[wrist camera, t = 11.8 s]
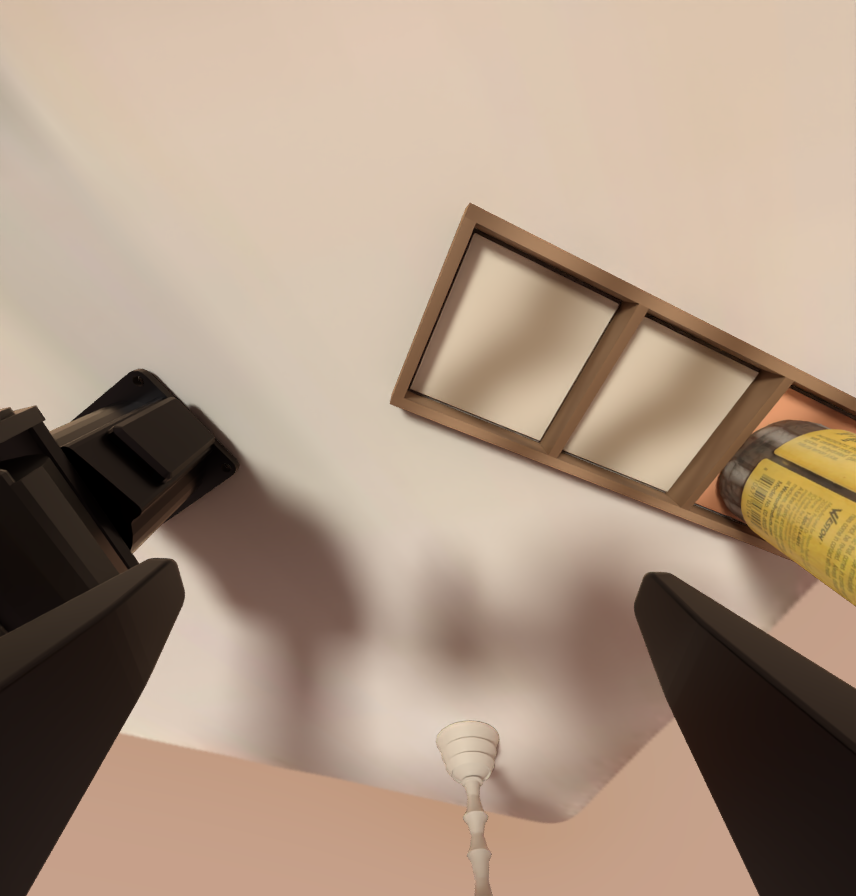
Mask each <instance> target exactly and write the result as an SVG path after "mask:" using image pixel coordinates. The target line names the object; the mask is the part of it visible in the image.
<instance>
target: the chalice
mask: <svg viewBox="0 0 856 896" xmlns="http://www.w3.org/2000/svg"><path fill="white" fill-rule="evenodd" d="M498 742H499V735H498V733H497V731H496V730H495V729H494V728H493V727H491V726H490V725H488V724H485V723H482V722H478V721H463V722H457V723H454V724H451V725H449V726H447V727H446V728H444V729H443V730H442V731H441V732H440V733H439V734H438V735H437V739H436V744H437V748H438V749H439V751H440V752H441V756H442V760H443V762H444V763H445V765H446V770H447V772H448V773H449V775H450V776H451V777H452V778H453V779H454V781H456V782H458V783H461V784H462V786H463V787H465V789H466V793H467V797H468V800H467V811H466V813H465V814H464V816H463V820H464V821H465V822H466V824H467V825H468V827H469V830H470V833H471V843H470V849H469V851H468V854H467V857H468V858H469V860H470V862H471V864H472V868H473V873H474V877H475V896H492V892H491V888H490V884H489V860H490V858H491V855H492V854H491V852H490V850H489V849H488V847H487V845H486V841H485V838H484V825H485V823H486V821H487V820H488V815H487V814H486V813H485V812H484V811H483V809H482V805H481V802H480V798H479V793H480V786H481V785H482V783H483V781H485V780H487V779H488V778H489V777H490V775H491V773H492V771H493V769H494V766H495V764H494V760H495V757H496V754H497V752H496V748H497V745H498Z"/></svg>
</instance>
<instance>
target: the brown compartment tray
mask: <svg viewBox="0 0 856 896" xmlns="http://www.w3.org/2000/svg"><path fill="white" fill-rule="evenodd" d="M474 228H476V229H478V230H480V231H482V232H484V233H486V234H488V235H490V236H492V237H494V238H496V239H498V240H500V241H502V242H504V243H506V244H508V245H510V246H512V247H514V248H516V249H518V250H520V251H522V252H524V253H526V254H528V255H530V256H533V257H535V258H537V259H539V260H541V261H543V262H545V263H547V264H549V265H551V266H553V267H555V268H557V269H559V270H561V271H563V272H565V273H567V274H569V275H571V276H573V277H575V278H577V279H579V280H581V281H583V282H585V283H587V284H589V285H591V286H593V287H595V288H597V289H599V290H601V291H603V292H605V293H607V294H609V295H611V296H613V297H615V298H617V299H619V300H621V301H622V303H621V305H620V306H619V304H618V303H616V302H614V301H612V300H610V299H608V298H606V297H604V296H602V295H600V294H598V293H596V292H594V291H592V290H590V289H588V288H586V287H584V286H582V285H580V284H578V283H575V282H573V281H571V280H569V279H567V278H565V277H563V276H561V275H559V274H557V273H555V272H553V271H551V270H549V269H547V268H545V267H543V266H541V265H539V264H537V263H535V262H533V261H531V260H529V259H527V258H525V257H523V256H521V255H519V254H517V253H515V252H513V251H511V250H508V249H506V248H504V247H502V246H500V245H498V244H496V243H494V242H492V241H490V240H488V239H486V238H484V237H482V236H480V235H478V234H476V233H474V234H473V236H472V239H471V241H470V244H469V246H468V248H467V251H466V253H465V256H464V258H463V261H462V263H461V265H460V268H459V270H458V273H457V275H456V277H455V280H454V282H453V285H452V287H451V290H450V292H449V294H448V297H447V299H446V302H445V304H444V306H443V309H442V311H441V314H440V316H439V319H438V321H437V323H436V326H435V328H434V331H433V333H432V335H431V338H430V340H429V343H428V345H427V348H426V350H425V352H424V355H423V357H422V360H421V362H420V364H419V367H418V369H417V372H416V374H415V377H414V379H413V381H412V384H411V386H410V389H412V390H415V391H417V392H420V393H422V394H425V395H427V396H430V397H432V398H435V399H437V400H440V401H442V402H445V403H447V404H450V405H452V406H455V407H457V408H460V409H462V410H465V411H467V412H470V413H472V414H475V415H477V416H480V417H482V418H485V419H487V420H490V421H492V422H495V423H497V424H500V425H502V426H505V427H507V428H510V429H512V430H514V431H517V432H519V433H522V434H524V435H527V436H529V437H532V438H534V439H537V440H539V441H540V439H541V438H542V436H543V434H544V433H545V431H546V429H547V427H548V426H549V424H550V422H551V421H552V419H553V417H554V415H555V414H556V412H557V410H558V409H559V407H560V405H561V403H562V402H563V400H564V398H565V397H566V395H567V393H568V391H569V390H570V388H571V386H572V385H573V383H574V381H575V379H576V378H577V376H578V374H579V373H580V371H581V369H582V367H583V366H584V364H585V362H586V361H587V359H588V357H589V355H590V354H591V352H592V350H593V349H594V347H595V345H596V343H597V342H598V340H599V338H600V337H601V335H602V333H603V331H604V330H605V328H606V326H607V325H608V323H609V321H610V319H611V318H612V316H613V314H614V313H615V311H616V309H617V307H618V306H619V308H618V310H617V311H616V313H615V315H614V317H613V318H612V320H611V322H610V323H609V325H608V327H607V329H606V330H605V332H604V334H603V335H602V337H601V339H600V341H599V342H598V344H597V346H596V347H595V349H594V351H593V353H592V354H591V356H590V358H589V359H588V361H587V363H586V364H585V366H584V368H583V370H582V371H581V373H580V375H579V376H578V378H577V380H576V382H575V383H574V385H573V387H572V388H571V390H570V392H569V394H568V395H567V397H566V399H565V400H564V402H563V404H562V406H561V407H560V409H559V411H558V412H557V414H556V416H555V417H554V419H553V421H552V423H551V424H550V426H549V428H548V429H547V431H546V433H545V435H544V436H543V438H542V440H541V441H540V443H539V442H536V441H534V440H531V439H529V438H526V437H524V436H521V435H519V434H516V433H514V432H511V431H509V430H506V429H504V428H501V427H499V426H496V425H494V424H491V423H489V422H486V421H484V420H481V419H479V418H476V417H474V416H471V415H469V414H466V413H464V412H461V411H459V410H456V409H454V408H451V407H449V406H446V405H444V404H441V403H439V402H436V401H434V400H431V399H429V398H426V397H424V396H421V395H419V394H416V393H414V392H411V391H409V390H407V389H408V387H409V385H410V382H411V380H412V377H413V375H414V372H415V370H416V368H417V365H418V363H419V360H420V358H421V355H422V353H423V351H424V348H425V346H426V343H427V341H428V338H429V336H430V334H431V331H432V329H433V326H434V324H435V321H436V319H437V317H438V314H439V312H440V309H441V307H442V304H443V302H444V300H445V297H446V295H447V292H448V290H449V287H450V285H451V283H452V280H453V278H454V275H455V273H456V270H457V268H458V266H459V263H460V261H461V258H462V256H463V253H464V251H465V249H466V246H467V244H468V241H469V239H470V236H471V234H472V232H473V229H474ZM646 313H648V314H650V315H652V316H654V317H656V318H658V319H660V320H662V321H664V322H666V323H668V324H670V325H672V326H674V327H676V328H678V329H680V330H682V331H684V332H686V333H688V334H690V335H692V336H694V337H696V338H698V339H700V340H702V341H704V342H706V343H708V344H710V345H712V346H714V347H716V348H718V349H720V350H722V351H724V352H726V353H728V354H730V355H732V356H734V357H737V358H739V359H741V360H743V361H745V362H747V363H749V364H751V365H753V366H755V367H757V368H759V369H760V370H759V372H756V371H754V370H752V369H750V368H748V367H746V366H744V365H742V364H740V363H738V362H736V361H734V360H732V359H730V358H728V357H726V356H724V355H722V354H720V353H718V352H716V351H714V350H711V349H709V348H707V347H705V346H703V345H701V344H699V343H697V342H695V341H693V340H691V339H689V338H687V337H685V336H683V335H681V334H679V333H677V332H675V331H673V330H671V329H669V328H667V327H665V326H663V325H661V324H659V323H657V322H655V321H653V320H651V319H649V318H647V317H644V316H645V315H646ZM791 385H793V386H795V387H797V388H799V389H801V390H803V391H805V392H807V393H809V394H811V395H813V396H815V397H817V398H819V399H821V400H823V401H825V402H827V403H829V404H831V405H833V406H835V407H837V408H840V409H842V410H844V411H846V412H848V413H850V414H852V415H854V416H856V398H855V397H853V396H851V395H849V394H847V393H845V392H843V391H841V390H839V389H837V388H835V387H833V386H831V385H829V384H827V383H825V382H823V381H821V380H819V379H817V378H815V377H813V376H811V375H809V374H807V373H805V372H803V371H801V370H799V369H797V368H795V367H793V366H791V365H789V364H787V363H785V362H784V361H782V360H780V359H778V358H776V357H774V356H772V355H770V354H768V353H766V352H764V351H762V350H760V349H758V348H756V347H754V346H752V345H750V344H748V343H746V342H744V341H742V340H740V339H738V338H736V337H734V336H732V335H730V334H728V333H726V332H724V331H722V330H720V329H718V328H716V327H714V326H712V325H710V324H709V323H707V322H705V321H703V320H701V319H699V318H697V317H695V316H693V315H691V314H689V313H687V312H685V311H683V310H681V309H679V308H677V307H675V306H673V305H671V304H669V303H667V302H665V301H663V300H661V299H659V298H657V297H655V296H653V295H651V294H649V293H647V292H645V291H643V290H641V289H639V288H637V287H635V286H633V285H632V284H630V283H628V282H626V281H624V280H622V279H620V278H618V277H616V276H614V275H612V274H610V273H608V272H606V271H604V270H602V269H600V268H598V267H596V266H594V265H592V264H590V263H588V262H586V261H584V260H582V259H580V258H578V257H576V256H574V255H572V254H570V253H568V252H566V251H564V250H562V249H560V248H558V247H557V246H555V245H553V244H551V243H549V242H547V241H545V240H543V239H541V238H539V237H537V236H535V235H533V234H531V233H529V232H527V231H525V230H523V229H521V228H519V227H517V226H515V225H513V224H511V223H509V222H507V221H505V220H503V219H501V218H499V217H497V216H495V215H493V214H491V213H489V212H487V211H485V210H483V209H481V208H480V207H478V206H476V205H474V204H472V203H469V205H468V206H467V207H466V209H465V211H464V214H463V216H462V219H461V221H460V224H459V226H458V229H457V231H456V234H455V236H454V239H453V241H452V244H451V247H450V249H449V252H448V254H447V257H446V259H445V262H444V264H443V267H442V269H441V272H440V274H439V277H438V279H437V282H436V284H435V287H434V289H433V292H432V294H431V297H430V299H429V302H428V304H427V307H426V309H425V312H424V314H423V317H422V319H421V322H420V325H419V327H418V330H417V332H416V335H415V337H414V340H413V342H412V345H411V347H410V350H409V352H408V355H407V357H406V360H405V362H404V365H403V367H402V370H401V372H400V375H399V377H398V380H397V382H396V385H395V387H394V390H393V392H392V396H391V400H390V404H391V405H394V406H396V407H399V408H401V409H404V410H407V411H409V412H412V413H414V414H417V415H419V416H422V417H425V418H427V419H430V420H432V421H435V422H437V423H440V424H443V425H445V426H448V427H450V428H453V429H455V430H458V431H460V432H463V433H466V434H468V435H471V436H473V437H476V438H478V439H481V440H484V441H486V442H489V443H491V444H494V445H496V446H499V447H502V448H504V449H507V450H509V451H512V452H514V453H517V454H519V455H522V456H525V457H527V458H530V459H532V460H535V461H537V462H540V463H543V464H545V465H548V466H550V467H553V468H555V469H558V470H561V471H563V472H566V473H568V474H571V475H573V476H576V477H578V478H581V479H584V480H586V481H589V482H591V483H594V484H596V485H599V486H602V487H604V488H607V489H609V490H612V491H614V492H617V493H620V494H622V495H625V496H627V497H630V498H632V499H635V500H637V501H640V502H643V503H645V504H648V505H650V506H653V507H655V508H658V509H661V510H663V511H666V512H668V513H671V514H673V515H676V516H679V517H681V518H684V519H686V520H689V521H691V522H694V523H696V524H699V525H702V526H704V527H707V528H709V529H712V530H714V531H717V532H720V533H722V534H725V535H727V536H730V537H732V538H735V539H738V540H740V541H743V542H745V543H748V544H750V545H753V546H755V547H758V548H761V549H763V550H766V551H768V552H771V553H773V554H776V555H779V556H781V557H784V558H786V559H789V560H791V561H793V560H792V559H790V558H789V557H788V556H786V555H785V554H783V553H782V552H781V551H779V550H778V549H777V548H775V547H774V546H772V545H771V544H770V543H768V542H767V541H766V540H764V539H763V538H762V537H760V536H759V535H758V534H756V533H755V532H754V531H753V530H752V529H750V527H749V526H746V525H744V524H741V523H739V522H736V521H734V520H731V519H729V518H726V517H724V516H721V515H719V514H716V513H714V512H711V511H709V510H706V509H704V508H701V507H699V506H696V505H694V504H695V503H696V504H699V505H701V506H704V507H706V508H709V509H711V510H714V511H716V512H719V513H721V514H724V515H726V516H729V517H731V518H734V519H736V520H739V521H741V522H744V521H742V520H741V519H739V518H738V517H736V516H735V515H734V514H733V513H732V512H731V511H730V510H729V509H728V508H727V506H726V504H725V502H724V500H723V498H722V497H721V495H720V490H719V480H720V475H721V473H722V470H723V468H724V467H725V466H726V464H727V463H728V462H729V461H730V460H731V458H732V457H733V456H734V455H735V453H736V452H737V451H738V450H739V449H740V447H741V446H742V445H743V444H744V442H745V441H746V440H747V439H748V437H749V436H750V435H751V434H753V433H754V432H755V431H757V430H759V429H761V428H763V427H765V426H768V425H769V424H772V423H774V422H778V421H782V420H801V421H809V422H813V423H818V424H822V425H824V426H826V427H828V428H830V429H840V430H845V431H849V432H852V433H855V434H856V420H854V419H852V418H850V417H847V416H845V415H843V414H841V413H839V412H837V411H835V410H833V409H831V408H829V407H827V406H825V405H823V404H821V403H819V402H817V401H815V400H813V399H811V398H809V397H807V396H805V395H803V394H801V393H799V392H797V391H795V390H793V389H791V388H789V387H790V386H791ZM562 450H564V451H567V452H569V453H572V454H574V455H577V456H579V457H582V458H584V459H587V460H589V461H592V462H594V463H597V464H599V465H602V466H604V467H607V468H609V469H612V470H614V471H617V472H619V473H622V474H624V475H627V476H629V477H632V478H634V479H637V480H639V481H642V482H644V483H647V484H649V485H652V486H654V487H657V488H659V489H662V490H664V491H666V492H665V493H664V492H661V491H659V490H656V489H654V488H651V487H649V486H646V485H644V484H641V483H639V482H636V481H634V480H631V479H629V478H626V477H624V476H621V475H619V474H616V473H614V472H611V471H609V470H606V469H604V468H601V467H599V466H596V465H594V464H591V463H589V462H586V461H584V460H581V459H579V458H576V457H574V456H571V455H569V454H566V453H564V452H561V451H562ZM744 523H745V522H744ZM746 524H747V523H746Z"/></svg>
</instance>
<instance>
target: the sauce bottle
mask: <svg viewBox="0 0 856 896" xmlns="http://www.w3.org/2000/svg"><path fill="white" fill-rule="evenodd" d="M719 490H720V495H721V497H722V498H723V500H724V502H725V504H726V506H727V508H728V509H729V510H730V511H731V512H732V513H733V514H734V515H735V516H736V517H738V518H739V519H741V520H742V521H744V522H745V523H747V525H748V526H749V527H750V529H752V530H753V531H754V532H755V533H756V534H758V535H759V536H760V537H762V538H763V539H764V540H766V541H767V542H768V543H770V544H771V545H772V546H774V547H775V548H777V549H778V550H779V551H781V552H782V553H783V554H785V555H786V556H788V557H789V558H790V559H792V560H793V561H794V562H796V563H797V564H798V565H800V566H801V567H802V568H804V569H805V570H806V571H808V572H809V573H811V574H812V575H813V576H815V577H816V578H817V579H819V580H820V581H821V582H823V583H824V584H825V585H827V586H828V587H830V588H831V589H833V590H834V591H835V592H837V593H838V594H839V595H841V596H842V597H843V598H845V599H846V600H848V601H849V602H850V603H852V604H853V605H854V606H856V434H855V433H852V432H849V431H845V430H840V429H830V428H828V427H826V426H824V425H822V424H818V423H813V422H809V421H801V420H782V421H778V422H774V423H772V424H769V425H768V426H765V427H763V428H761V429H759V430H757V431H755V432H754V433H753V434H751V435H750V436H749V437H748V439H747V440H746V441H745V442H744V444H743V445H742V446H741V447H740V449H739V450H738V451H737V452H736V453H735V455H734V456H733V457H732V458H731V460H730V461H729V462H728V463H727V464H726V466H725V467H724V468H723V470H722V473H721V475H720V480H719Z"/></svg>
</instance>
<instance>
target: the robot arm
mask: <svg viewBox="0 0 856 896" xmlns="http://www.w3.org/2000/svg"><path fill="white" fill-rule="evenodd" d="M138 376H139V377H141V378H142V379H143V381H144V384H142V383H141V382H140V381H139V380H138ZM44 420H46V419H45V418H44V416H43V415H42V413H41V412H40V410H39V409H38V407H37V406H31V407H27V408H23V409H19V410H15V411H13V410H12V409H11V407H8V408H3V409H0V896H26V895H27V893H28V892H29V890H30V888H31V886H32V885H33V883H34V881H35V879H36V878H37V876H38V874H39V872H40V871H41V869H42V867H43V865H44V864H45V862H46V860H47V858H48V857H49V855H50V853H51V851H52V850H53V848H54V846H55V844H56V843H57V841H58V839H59V837H60V836H61V834H62V832H63V830H64V829H65V827H66V825H67V823H68V822H69V820H70V818H71V816H72V815H73V813H74V811H75V809H76V808H77V806H78V804H79V802H80V801H81V799H82V797H83V795H84V794H85V792H86V790H87V788H88V787H89V785H90V783H91V781H92V780H93V778H94V776H95V774H96V773H97V771H98V769H99V767H100V766H101V764H102V762H103V760H104V759H105V757H106V755H107V753H108V752H109V750H110V748H111V746H112V745H113V743H114V741H115V739H116V737H117V736H118V734H119V732H120V731H121V729H122V727H123V725H124V724H125V722H126V720H127V718H128V717H129V715H130V713H131V711H132V710H133V708H134V706H135V704H136V703H137V701H138V699H139V697H140V695H141V693H142V692H143V690H144V688H145V686H146V684H147V682H148V680H149V678H150V676H151V674H152V672H153V670H154V667H155V665H156V663H157V661H158V659H159V656H160V654H161V652H162V650H163V648H164V645H165V643H166V641H167V639H168V637H169V634H170V632H171V630H172V628H173V626H174V623H175V621H176V619H177V617H178V615H179V612H180V610H181V608H182V606H183V603H184V599H185V590H184V587H183V583H182V579H181V576H180V572H179V569H178V565H177V563H176V562H175V561H174V560H173V559H168V558H151V559H148V560H145V561H144V562H142V563H140V564H139V563H138V561H137V560H136V558H135V557H134V555H133V553H134V552H135V551H136V550H137V549H138V548H139V547H140V546H141V545H142V544H143V543H144V542H145V541H146V540H147V539H148V538H149V537H150V536H151V535H152V534H153V533H154V532H155V531H156V530H157V529H158V528H159V527H160V526H161V525H162V524H163V523H165V522H166V521H167V520H169V519H170V518H172V517H173V516H175V515H176V514H178V513H179V512H180V511H182V510H183V509H185V508H186V507H188V506H189V505H190V504H192V503H193V502H195V501H196V500H198V499H199V498H200V497H202V496H203V495H205V494H206V493H208V492H209V491H211V490H212V489H213V488H215V487H216V486H218V485H219V484H221V483H222V482H223V481H225V480H226V479H228V478H229V477H231V476H232V475H233V474H234V473H235V472H236V471H237V470H238V469H239V463H238V461H237V460H236V459H235V458H234V457H233V456H232V455H231V454H230V453H229V452H228V451H227V449H226V448H225V447H224V446H223V445H222V444H221V443H220V442H219V441H218V440H217V439H216V438H215V437H214V435H213V434H212V433H211V432H210V431H209V430H208V429H207V428H206V427H205V426H204V425H203V424H202V423H201V422H200V421H199V420H198V419H197V418H196V417H195V416H194V415H193V414H192V413H191V412H190V411H189V410H188V409H187V408H186V407H185V406H184V405H183V404H182V403H181V402H180V401H179V400H178V399H177V398H175V397H174V396H173V395H172V394H171V393H170V392H169V391H168V390H167V389H166V388H165V387H164V386H163V385H162V384H161V383H160V382H159V381H158V380H157V379H156V378H155V377H154V376H153V375H152V374H151V373H150V372H149V371H147V370H145V369H136V370H134V371H131V372H129V373H128V374H127V375H126V376H125V377H123V378H122V379H121V380H120V381H119V382H117V383H116V384H115V385H114V386H113V387H111V388H110V389H109V390H108V391H107V392H106V393H104V394H103V395H102V396H101V397H100V398H98V399H97V400H96V401H95V402H94V403H92V404H91V405H90V406H89V407H88V408H87V409H85V410H84V411H83V412H82V413H81V414H79V415H78V416H77V417H76V418H75V419H73V420H72V421H71V422H70V423H67V424H65V425H63V426H61V427H58V428H56V429H54V430H52V431H49V430H48V429H47V427H46V426H45V424H44V423H43V421H44ZM224 463H226V464H229V465H230V467H231V469H230V468H227V467H226V466H225V465H224ZM634 612H635V616H636V619H637V622H638V625H639V628H640V630H641V633H642V636H643V638H644V641H645V644H646V647H647V649H648V652H649V655H650V658H651V660H652V663H653V666H654V668H655V671H656V674H657V677H658V679H659V682H660V685H661V687H662V690H663V692H664V695H665V697H666V699H667V702H668V704H669V706H670V708H671V710H672V713H673V715H674V717H675V719H676V721H677V723H678V725H679V727H680V729H681V731H682V734H683V735H684V738H685V740H686V742H687V744H688V746H689V748H690V750H691V753H692V755H693V757H694V759H695V761H696V763H697V765H698V767H699V769H700V771H701V773H702V776H703V778H704V780H705V782H706V784H707V786H708V788H709V790H710V793H711V795H712V797H713V799H714V801H715V803H716V805H717V807H718V809H719V812H720V814H721V816H722V818H723V820H724V822H725V824H726V826H727V828H728V830H729V833H730V835H731V837H732V839H733V841H734V843H735V845H736V847H737V849H738V851H739V853H740V856H741V858H742V860H743V862H744V864H745V866H746V868H747V870H748V872H749V874H750V877H751V879H752V881H753V883H754V885H755V887H756V889H757V892H758V894H759V896H856V689H855V688H854V687H852V686H851V685H849V684H847V683H846V682H844V681H843V680H841V679H839V678H838V677H836V676H835V675H833V674H831V673H829V672H828V671H827V670H825V669H823V668H822V667H820V666H819V665H817V664H815V663H814V662H812V661H810V660H809V659H807V658H806V657H804V656H802V655H801V654H799V653H798V652H796V651H794V650H793V649H791V648H790V647H788V646H786V645H785V644H783V643H782V642H780V641H778V640H777V639H775V638H774V637H772V636H770V635H769V634H767V633H766V632H764V631H762V630H761V629H759V628H757V627H756V626H754V625H753V624H751V623H749V622H748V621H746V620H745V619H743V618H741V617H740V616H738V615H737V614H735V613H733V612H732V611H730V610H729V609H727V608H725V607H724V606H722V605H721V604H719V603H717V602H716V601H714V600H713V599H711V598H709V597H708V596H706V595H704V594H703V593H701V592H700V591H698V590H696V589H695V588H693V587H692V586H690V585H688V584H687V583H685V582H684V581H682V580H680V579H679V578H677V577H676V576H674V575H672V574H670V573H666V572H649V573H647V574H645V575H644V577H643V580H642V583H641V585H640V588H639V591H638V594H637V597H636V600H635V603H634Z"/></svg>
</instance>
